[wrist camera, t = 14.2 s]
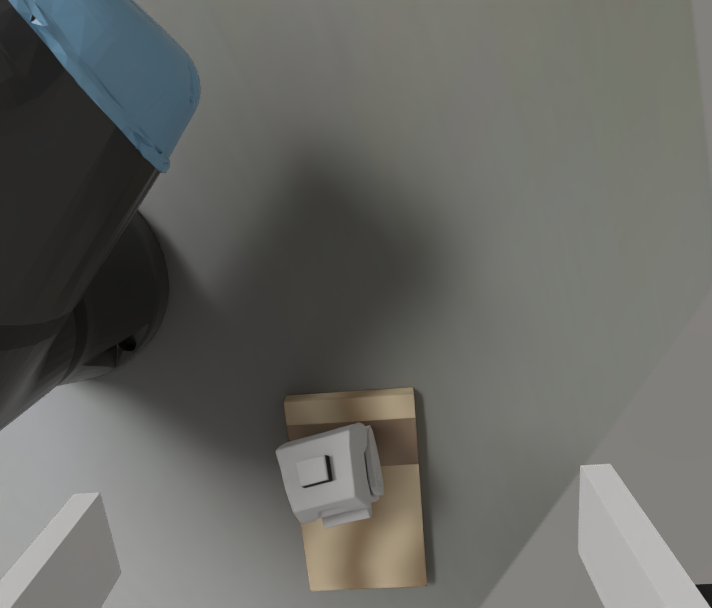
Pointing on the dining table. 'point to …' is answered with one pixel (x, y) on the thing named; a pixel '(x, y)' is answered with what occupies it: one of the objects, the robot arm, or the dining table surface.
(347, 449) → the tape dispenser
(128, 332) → the robot arm
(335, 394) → the plywood panel
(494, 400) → the dining table surface
